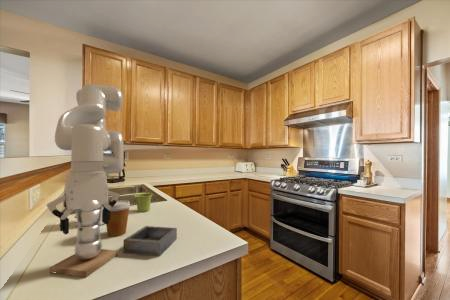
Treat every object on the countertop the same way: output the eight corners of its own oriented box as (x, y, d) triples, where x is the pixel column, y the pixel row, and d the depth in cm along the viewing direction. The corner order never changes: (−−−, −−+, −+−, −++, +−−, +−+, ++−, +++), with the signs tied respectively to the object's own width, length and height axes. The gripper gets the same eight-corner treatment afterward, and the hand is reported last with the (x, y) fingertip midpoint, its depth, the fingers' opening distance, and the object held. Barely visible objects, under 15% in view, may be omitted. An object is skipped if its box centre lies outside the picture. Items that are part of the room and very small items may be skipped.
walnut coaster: (49, 273, 52) (49, 267, 52) (86, 252, 62) (86, 247, 62) (86, 277, 50) (86, 271, 50) (117, 255, 61) (117, 250, 61)
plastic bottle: (77, 266, 52) (78, 190, 52) (71, 257, 57) (73, 187, 57) (105, 256, 57) (105, 187, 57) (97, 249, 61) (98, 184, 62)
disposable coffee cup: (135, 230, 80) (135, 201, 81) (115, 240, 71) (116, 206, 72) (117, 227, 83) (118, 199, 84) (96, 236, 74) (96, 204, 75)
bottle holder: (123, 252, 62) (123, 239, 62) (145, 236, 74) (145, 226, 74) (160, 256, 60) (160, 242, 60) (176, 239, 72) (176, 227, 72)
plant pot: (130, 212, 105) (130, 196, 106) (140, 208, 115) (141, 193, 115) (146, 213, 104) (146, 197, 104) (155, 208, 113) (155, 193, 113)
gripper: (114, 165, 66) (113, 217, 65) (44, 168, 52) (43, 233, 52) (124, 166, 61) (123, 222, 61) (50, 170, 48) (49, 241, 47)
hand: (86, 227), depth 56 cm, fingers open, 9 cm apart
